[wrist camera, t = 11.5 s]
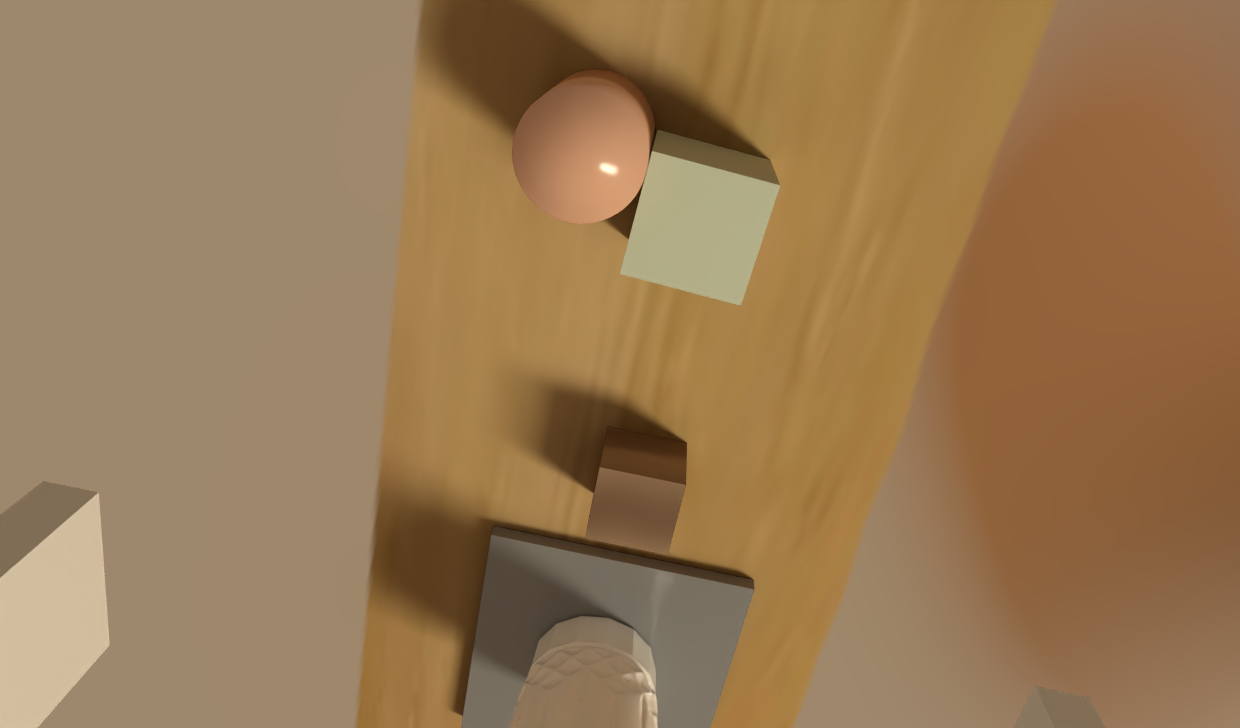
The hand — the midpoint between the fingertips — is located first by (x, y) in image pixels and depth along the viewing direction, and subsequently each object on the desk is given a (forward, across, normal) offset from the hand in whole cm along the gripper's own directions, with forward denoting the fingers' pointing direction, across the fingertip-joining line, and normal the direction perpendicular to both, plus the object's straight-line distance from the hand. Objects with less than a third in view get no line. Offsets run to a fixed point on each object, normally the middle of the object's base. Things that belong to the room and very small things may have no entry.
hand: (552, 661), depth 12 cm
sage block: (+29, +2, 0) cm, 29 cm away
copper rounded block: (+29, -3, +2) cm, 29 cm away
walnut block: (+29, +2, -14) cm, 32 cm away
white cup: (+28, +2, -26) cm, 38 cm away
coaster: (+29, +2, -26) cm, 39 cm away
